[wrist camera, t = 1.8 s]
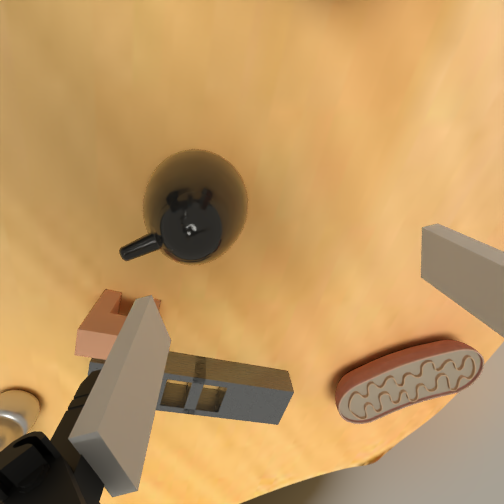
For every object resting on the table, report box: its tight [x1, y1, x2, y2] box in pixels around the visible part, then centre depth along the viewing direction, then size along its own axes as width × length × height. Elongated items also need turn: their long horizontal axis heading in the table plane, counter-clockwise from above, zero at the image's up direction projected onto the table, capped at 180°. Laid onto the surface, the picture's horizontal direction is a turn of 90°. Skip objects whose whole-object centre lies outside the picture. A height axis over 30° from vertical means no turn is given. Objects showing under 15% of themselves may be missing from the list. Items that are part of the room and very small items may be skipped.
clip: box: [75, 289, 161, 360], centre depth 35 cm, size 7×4×8 cm, turn 72°
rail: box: [88, 352, 294, 425], centre depth 42 cm, size 28×7×4 cm, turn 72°
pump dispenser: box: [119, 149, 248, 265], centre depth 26 cm, size 10×10×15 cm
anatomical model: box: [335, 340, 484, 424], centre depth 46 cm, size 23×10×5 cm, turn 109°
